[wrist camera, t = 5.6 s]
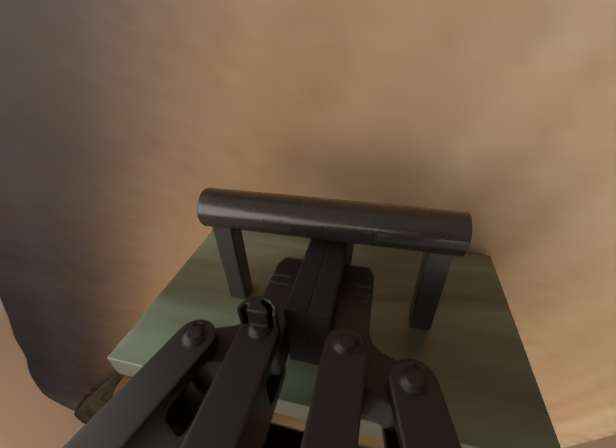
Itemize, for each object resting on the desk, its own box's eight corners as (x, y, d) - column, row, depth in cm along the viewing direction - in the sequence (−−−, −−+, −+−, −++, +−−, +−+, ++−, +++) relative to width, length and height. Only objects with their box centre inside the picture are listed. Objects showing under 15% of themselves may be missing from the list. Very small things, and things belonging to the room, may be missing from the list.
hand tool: (111, 402, 50) (88, 434, 47) (89, 390, 49) (64, 421, 46) (154, 375, 40) (129, 413, 36) (127, 358, 39) (99, 396, 35)
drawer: (197, 139, 17) (28, 251, 9) (530, 158, 14) (708, 362, 6) (254, 369, 31) (204, 493, 23) (428, 407, 28) (440, 570, 20)
